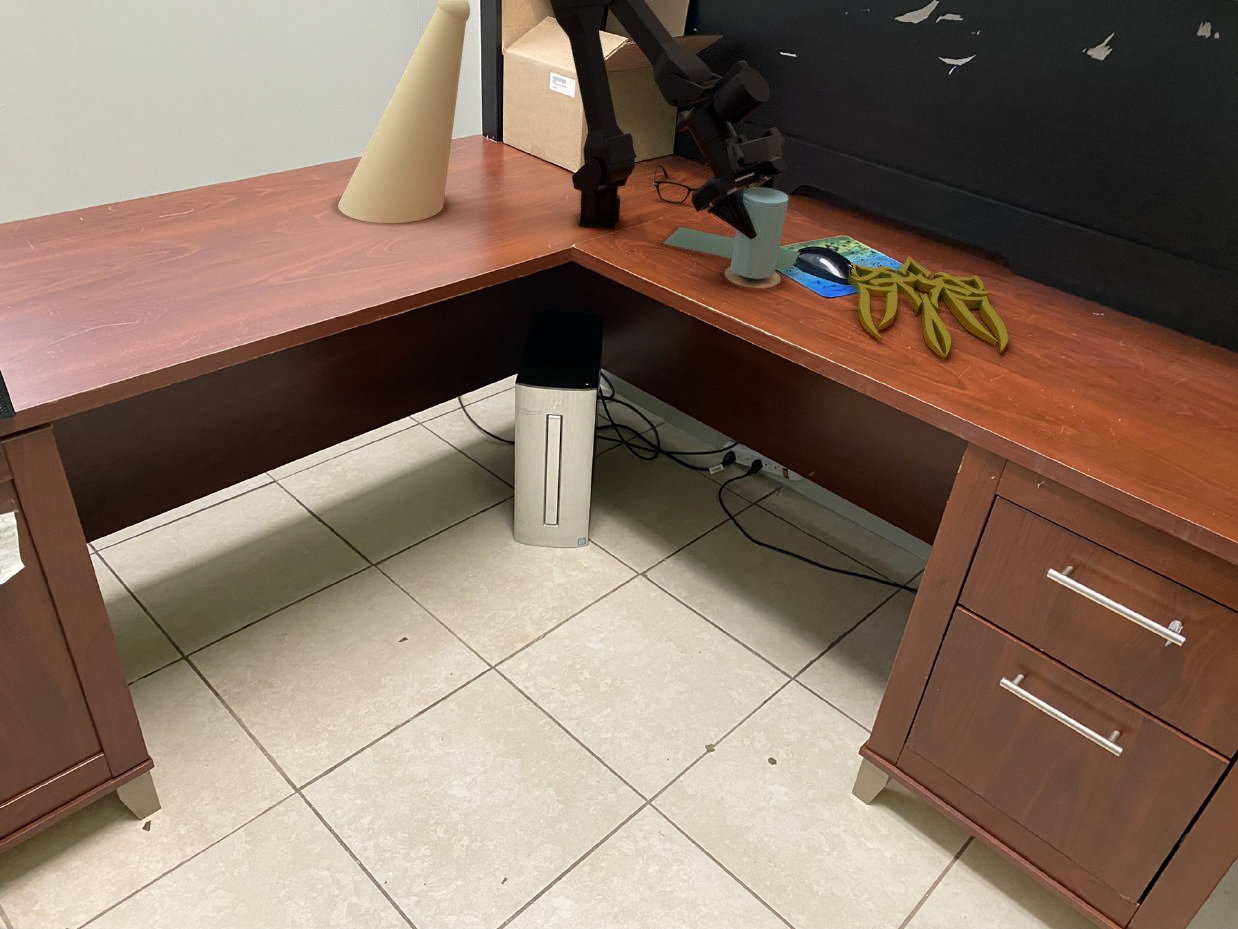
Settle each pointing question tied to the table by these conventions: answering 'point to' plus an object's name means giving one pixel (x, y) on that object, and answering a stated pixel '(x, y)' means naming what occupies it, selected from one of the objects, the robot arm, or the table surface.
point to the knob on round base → (752, 280)
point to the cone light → (414, 130)
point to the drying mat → (720, 245)
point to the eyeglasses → (671, 183)
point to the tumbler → (760, 233)
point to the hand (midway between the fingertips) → (766, 231)
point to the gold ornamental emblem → (927, 302)
